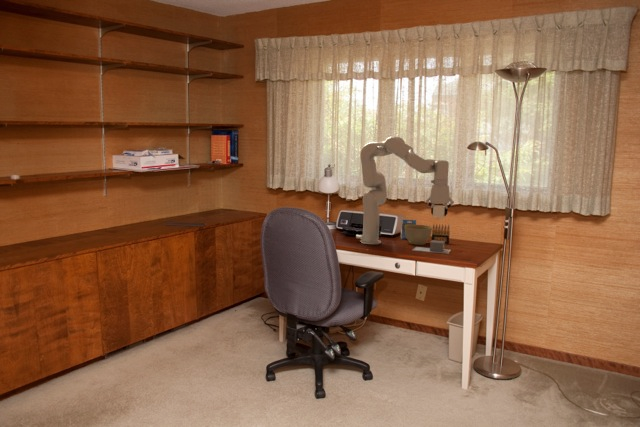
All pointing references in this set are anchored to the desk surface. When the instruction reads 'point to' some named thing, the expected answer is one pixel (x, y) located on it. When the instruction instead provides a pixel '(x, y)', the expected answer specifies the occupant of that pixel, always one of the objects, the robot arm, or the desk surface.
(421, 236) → the planter bowl
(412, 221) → the label tape box
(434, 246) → the charcoal base block
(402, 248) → the desk surface
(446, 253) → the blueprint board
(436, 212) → the cream block
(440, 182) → the robot arm
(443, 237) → the ammunition clip
